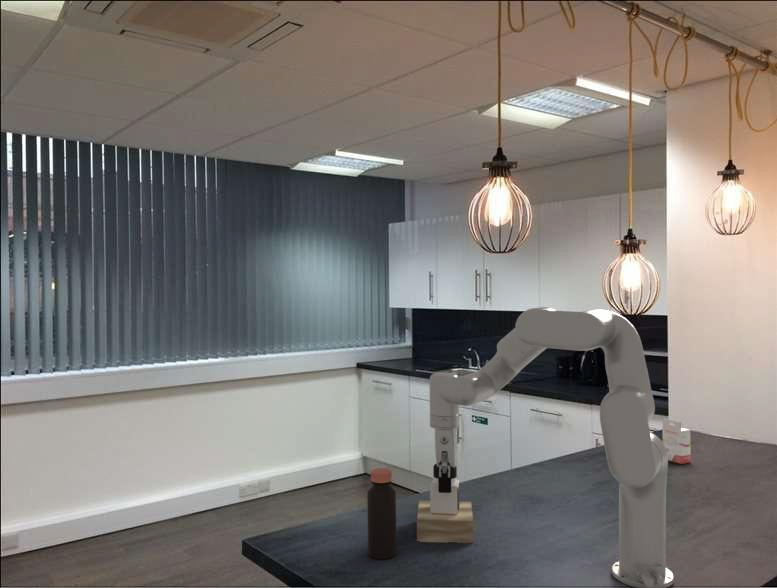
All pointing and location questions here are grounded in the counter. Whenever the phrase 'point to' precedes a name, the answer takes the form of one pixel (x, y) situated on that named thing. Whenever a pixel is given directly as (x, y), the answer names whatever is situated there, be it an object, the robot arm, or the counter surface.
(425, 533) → the birch block
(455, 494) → the medicine bottle
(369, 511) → the vinegar
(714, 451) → the counter surface
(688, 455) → the ink cartridge box
